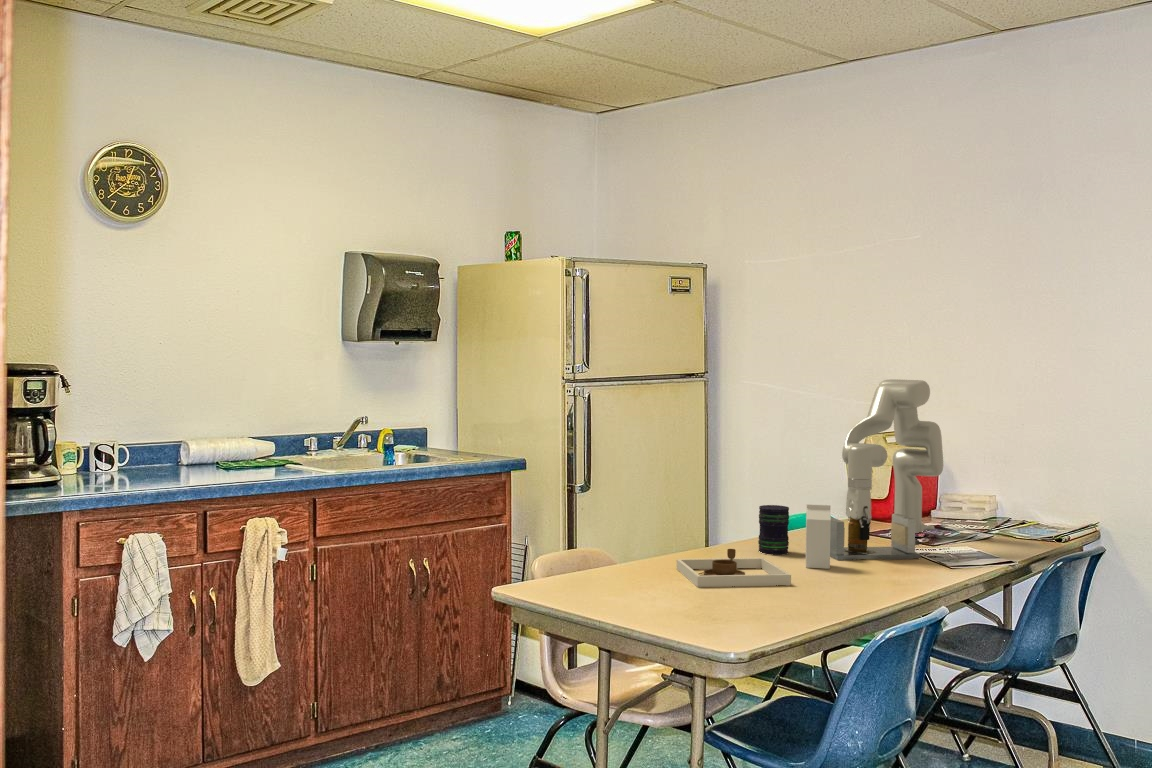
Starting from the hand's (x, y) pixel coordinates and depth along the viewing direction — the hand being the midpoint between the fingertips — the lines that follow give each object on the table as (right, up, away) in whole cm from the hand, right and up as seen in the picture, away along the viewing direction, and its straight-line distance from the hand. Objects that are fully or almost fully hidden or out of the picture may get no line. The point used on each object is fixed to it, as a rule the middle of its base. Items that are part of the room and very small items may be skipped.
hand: (858, 537), depth 344 cm
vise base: (+4, -6, +1) cm, 7 cm away
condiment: (0, -5, 0) cm, 5 cm away
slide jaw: (+17, -4, +3) cm, 17 cm away
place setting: (-46, -6, -36) cm, 59 cm away
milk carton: (-18, -7, -18) cm, 26 cm away
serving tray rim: (-46, -6, -36) cm, 59 cm away
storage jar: (-27, -6, +4) cm, 28 cm away
